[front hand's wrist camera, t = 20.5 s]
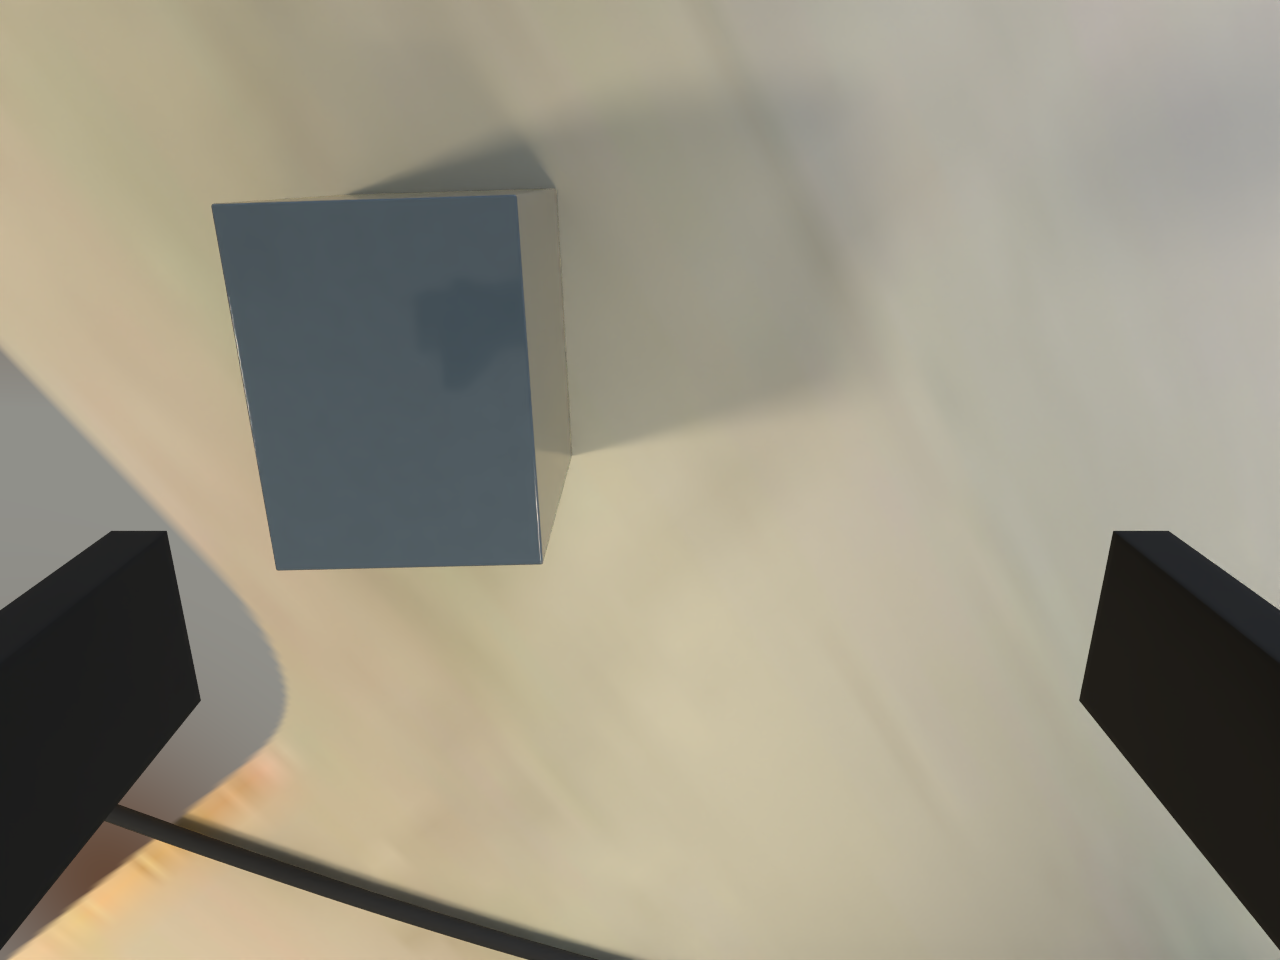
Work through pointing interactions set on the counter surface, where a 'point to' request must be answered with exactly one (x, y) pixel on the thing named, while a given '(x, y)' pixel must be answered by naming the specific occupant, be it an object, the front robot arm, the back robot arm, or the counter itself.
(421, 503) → the block
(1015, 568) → the counter surface
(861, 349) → the counter surface
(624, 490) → the counter surface
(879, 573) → the counter surface
